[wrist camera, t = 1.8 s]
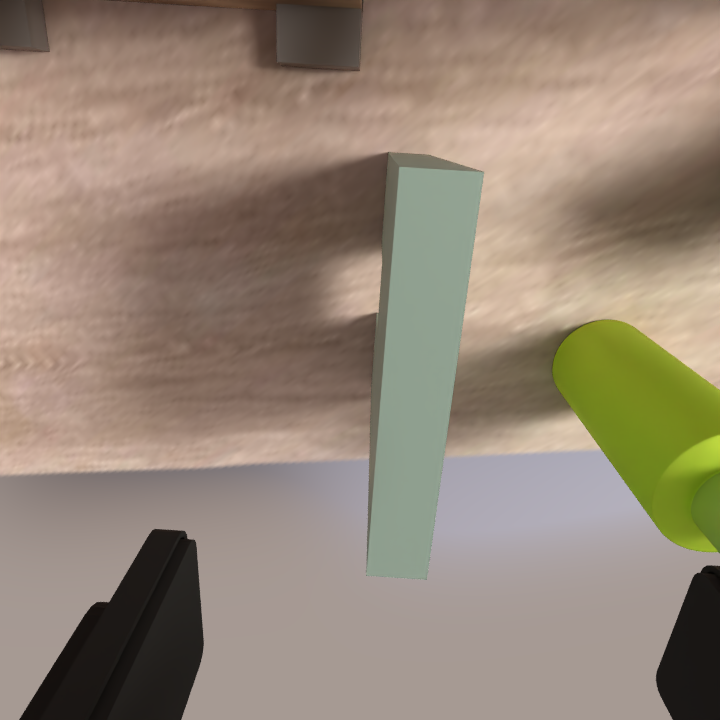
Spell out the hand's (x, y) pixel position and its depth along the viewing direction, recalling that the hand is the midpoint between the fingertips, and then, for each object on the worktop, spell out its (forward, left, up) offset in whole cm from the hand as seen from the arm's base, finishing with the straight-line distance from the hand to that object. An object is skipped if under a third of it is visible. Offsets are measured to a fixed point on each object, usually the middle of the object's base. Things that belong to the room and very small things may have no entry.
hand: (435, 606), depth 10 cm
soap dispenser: (+11, +9, -23) cm, 27 cm away
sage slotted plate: (0, 0, -23) cm, 23 cm away
